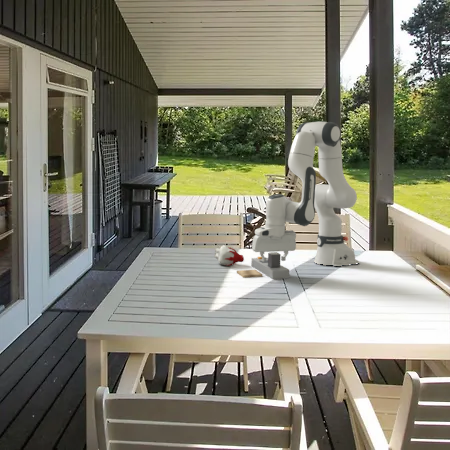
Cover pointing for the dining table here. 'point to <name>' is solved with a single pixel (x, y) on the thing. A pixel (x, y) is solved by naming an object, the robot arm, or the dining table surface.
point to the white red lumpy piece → (228, 256)
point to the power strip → (270, 269)
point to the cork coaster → (249, 273)
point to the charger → (273, 259)
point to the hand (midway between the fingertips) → (273, 261)
